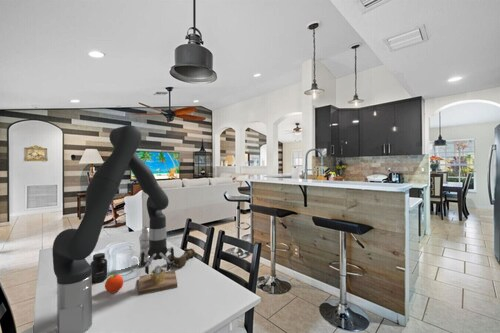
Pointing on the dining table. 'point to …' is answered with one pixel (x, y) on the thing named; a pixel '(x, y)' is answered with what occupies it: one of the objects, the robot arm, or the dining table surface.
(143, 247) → the plastic bottle
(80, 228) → the robot arm
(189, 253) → the kendama
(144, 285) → the walnut base plate
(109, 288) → the clementine
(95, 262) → the supplement bottle
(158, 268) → the steel post
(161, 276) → the brass ring
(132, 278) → the dining table surface
